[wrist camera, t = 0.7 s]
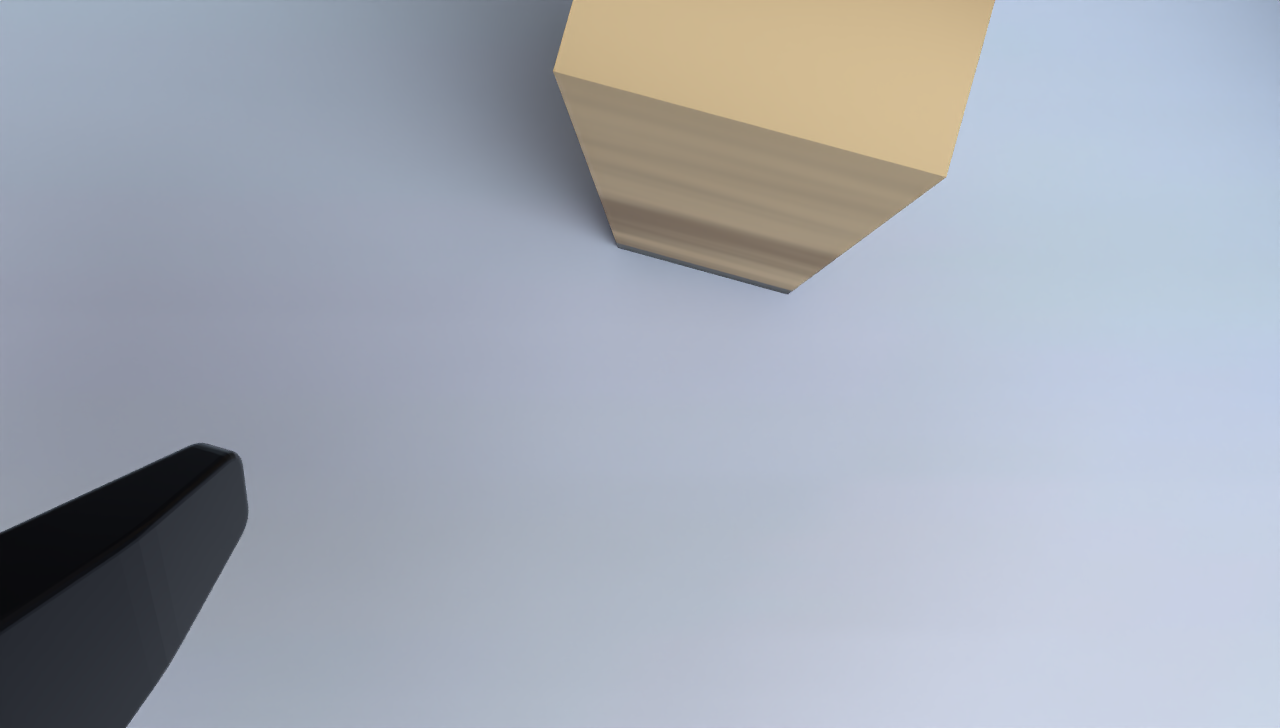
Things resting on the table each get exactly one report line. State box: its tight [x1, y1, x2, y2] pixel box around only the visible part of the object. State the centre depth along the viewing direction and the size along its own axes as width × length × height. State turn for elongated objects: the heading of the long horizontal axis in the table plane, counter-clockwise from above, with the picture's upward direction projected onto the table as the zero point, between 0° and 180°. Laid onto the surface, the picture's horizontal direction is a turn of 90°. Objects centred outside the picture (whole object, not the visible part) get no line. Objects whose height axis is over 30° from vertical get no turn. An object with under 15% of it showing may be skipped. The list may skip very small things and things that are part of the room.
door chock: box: [553, 0, 995, 294], centre depth 16 cm, size 5×4×12 cm
